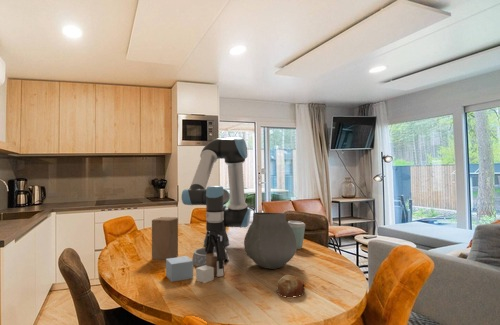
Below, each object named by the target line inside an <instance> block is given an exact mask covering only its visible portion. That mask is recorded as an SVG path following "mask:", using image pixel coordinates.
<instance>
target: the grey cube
mask: <svg viewBox="0 0 500 325" xmlns="http://www.w3.org/2000/svg"><path fill="white" fill-rule="evenodd" d="M195 277H196V278H195V280H196V281H198V282H199V283H200V282H201V283H203V284H206V283H208V282H211V281H214V279H215V278H214V277H215V276H214V267H210V266H207V265H204V266H197V267H196V268H195Z"/></svg>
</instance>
